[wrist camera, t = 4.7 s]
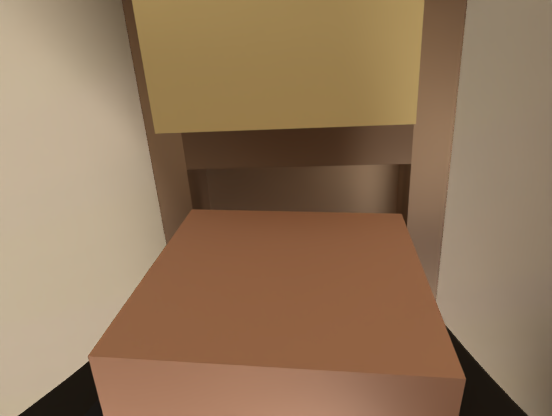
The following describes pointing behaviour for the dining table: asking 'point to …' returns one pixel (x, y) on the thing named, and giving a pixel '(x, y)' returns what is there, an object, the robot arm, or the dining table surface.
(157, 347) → the terracotta cube
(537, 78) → the dining table surface
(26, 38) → the dining table surface
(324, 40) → the ochre cube
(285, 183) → the frame
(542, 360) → the dining table surface
